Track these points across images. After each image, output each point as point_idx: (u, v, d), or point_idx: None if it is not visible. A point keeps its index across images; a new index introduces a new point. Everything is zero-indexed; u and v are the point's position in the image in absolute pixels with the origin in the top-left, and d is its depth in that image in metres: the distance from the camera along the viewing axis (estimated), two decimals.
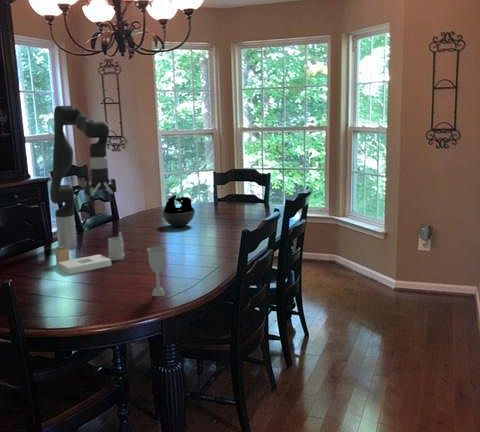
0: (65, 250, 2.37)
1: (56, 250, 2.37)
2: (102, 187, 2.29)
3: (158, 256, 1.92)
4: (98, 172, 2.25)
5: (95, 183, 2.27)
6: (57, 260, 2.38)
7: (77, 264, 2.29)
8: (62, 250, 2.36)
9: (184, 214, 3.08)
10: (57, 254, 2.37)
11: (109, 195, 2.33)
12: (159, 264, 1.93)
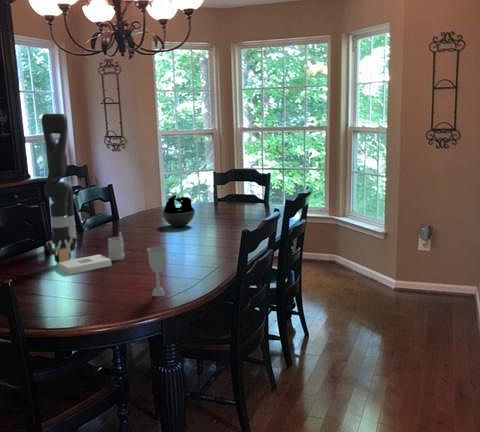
0: (65, 250, 2.37)
1: None
2: (63, 244, 2.37)
3: (158, 256, 1.92)
4: (58, 230, 2.32)
5: (56, 242, 2.35)
6: None
7: (77, 264, 2.29)
8: (62, 250, 2.36)
9: (184, 214, 3.08)
10: None
11: None
12: (159, 264, 1.93)
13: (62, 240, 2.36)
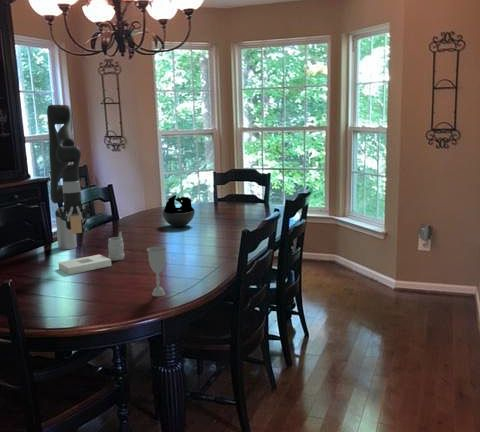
0: (77, 217, 2.30)
1: None
2: (75, 211, 2.30)
3: (158, 256, 1.92)
4: (70, 196, 2.26)
5: (68, 208, 2.28)
6: None
7: (77, 264, 2.29)
8: (74, 217, 2.29)
9: (184, 214, 3.08)
10: None
11: None
12: (159, 264, 1.93)
13: (74, 206, 2.29)
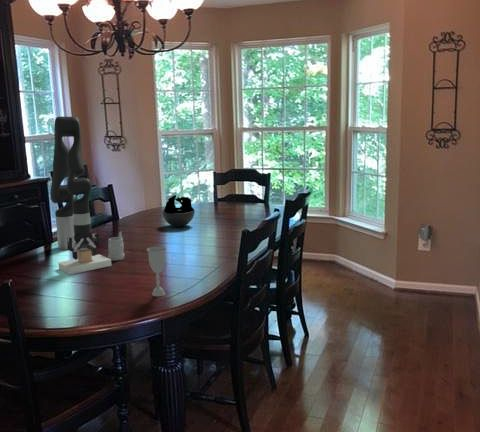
0: (88, 252, 2.32)
1: (78, 252, 2.33)
2: (85, 242, 2.32)
3: (158, 256, 1.92)
4: (80, 228, 2.28)
5: (78, 239, 2.30)
6: (79, 262, 2.33)
7: (77, 264, 2.29)
8: (85, 252, 2.31)
9: (184, 214, 3.08)
10: (79, 256, 2.32)
11: (92, 249, 2.36)
12: (159, 264, 1.93)
13: (84, 238, 2.31)
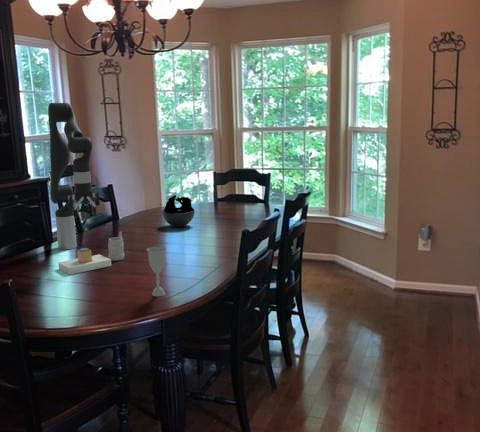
0: (88, 252, 2.32)
1: (78, 252, 2.33)
2: (85, 201, 2.35)
3: (158, 256, 1.92)
4: (81, 186, 2.30)
5: (78, 197, 2.32)
6: (79, 262, 2.33)
7: (77, 264, 2.29)
8: (85, 252, 2.31)
9: (184, 214, 3.08)
10: (79, 256, 2.32)
11: (92, 208, 2.39)
12: (159, 264, 1.93)
13: (84, 196, 2.34)
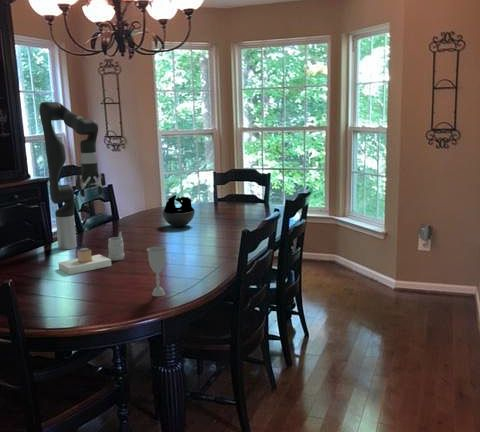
0: (87, 252, 2.32)
1: (78, 252, 2.33)
2: (92, 181, 2.46)
3: (158, 256, 1.92)
4: (88, 166, 2.41)
5: (85, 177, 2.44)
6: (79, 262, 2.33)
7: (77, 264, 2.29)
8: (85, 252, 2.31)
9: (184, 214, 3.08)
10: (79, 256, 2.32)
11: (99, 188, 2.50)
12: (159, 264, 1.93)
13: (91, 176, 2.45)
